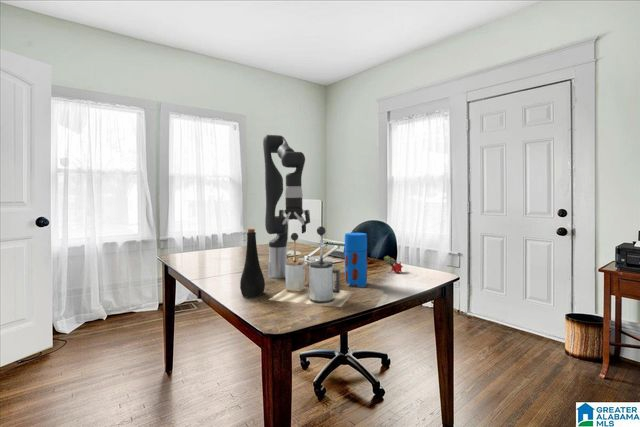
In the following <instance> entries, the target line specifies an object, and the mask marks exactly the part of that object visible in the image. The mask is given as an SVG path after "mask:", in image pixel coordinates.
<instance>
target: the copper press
mask: <svg viewBox="0 0 640 427" xmlns="http://www.w3.org/2000/svg"><path fill="white" fill-rule="evenodd" d="M304 261H305V260H304V259H296V262H294V259H291V260H287V262H286V263H285V277H284V278H285V289H286V291H287V292H302V291H304V290H305V287H306V285H309V265H306V263H305V262H304ZM299 264H302V265H299Z"/></svg>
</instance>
